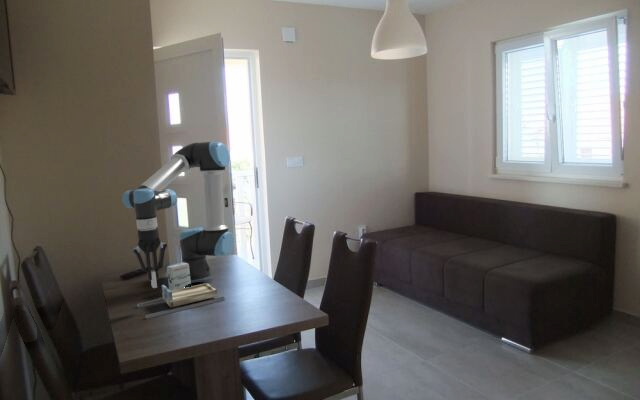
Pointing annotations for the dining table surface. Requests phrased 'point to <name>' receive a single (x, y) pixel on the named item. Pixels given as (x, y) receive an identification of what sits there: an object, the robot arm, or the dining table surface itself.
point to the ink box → (178, 276)
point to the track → (176, 308)
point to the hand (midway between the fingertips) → (154, 286)
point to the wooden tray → (188, 294)
